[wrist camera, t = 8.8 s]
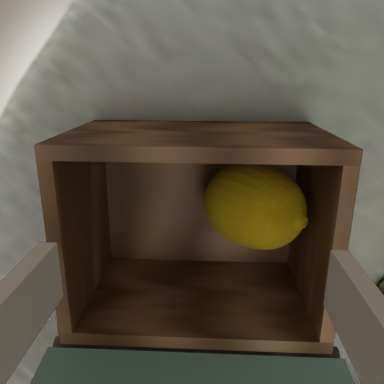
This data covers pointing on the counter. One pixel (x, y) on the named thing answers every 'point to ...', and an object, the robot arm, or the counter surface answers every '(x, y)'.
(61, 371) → the lid
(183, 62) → the counter surface
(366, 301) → the robot arm
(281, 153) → the box
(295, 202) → the lemon
